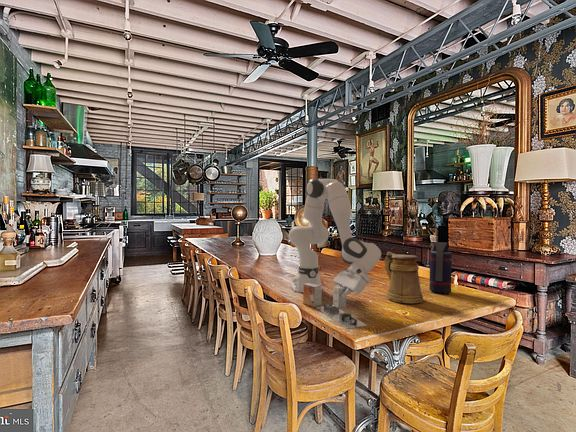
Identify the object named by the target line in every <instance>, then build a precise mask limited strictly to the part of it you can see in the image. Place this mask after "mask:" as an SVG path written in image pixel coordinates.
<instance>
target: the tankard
mask: <svg viewBox="0 0 576 432" xmlns="http://www.w3.org/2000/svg"><path fill="white" fill-rule="evenodd" d="M417 259H418V257H417V255H413V254H411V255H410V254H409V255H408V254H398V253H393V252H391V251H387V253H386V255H385V258H384V269H385V271H386V274H387V276H388V278H389V287H388V289H387V291H386V292H387V294H386V295H387V296H386V298H387V299H388V300H389V301H392V302H394V303H399V304H400V303H401V304H421V303H422V302H424V296H423V293H422V290H421V289H422V288H421V283H420V277H419V269H420V267H419V263H418V262H417Z"/></svg>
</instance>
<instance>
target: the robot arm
mask: <svg viewBox="0 0 576 432" xmlns="http://www.w3.org/2000/svg"><path fill="white" fill-rule="evenodd" d="M305 190H306V191H305V192H306V194H307V195H306V199H305V202H304V203H305V204H304V209H303V218H304V219H305V220H306V221H307V222H309V224H308V225H306V226H305V225H301V226H294V227H292V228H290V230H289V232H288V239H289V241H290V243H291V244H292V245H294V246H295V247H296V249H297V252H298V254H299V255H298V257H299V266H298V270H297V273H296V275H295V276H294V277H293V278H292V283H290V285H289V286H290V288H291V289H292V290H293V292H296V293H297V292H299V293H304V284H306V283H314V284H318V285H322V282H321V276H320V274H319V271H320V269H319V259H318V258H319V256H318V253H317V252H316V251H315V250H313V249H312V248H311V245H319V244H323V243H325V242H327V241H328V239H329V236H330V235H329V230H328V228H327V227H325V225H324V224H323V215H324V214H323V213H324V208H325V203H326V202H325V201H326V200H327V204H328V207H329V210H330V212H331V216H332V217H333V220H334V223H335V225H336V227H337V232H338V235H339V239H340V243H341V251H340V257H341V260H342V261H343V262H344V263H345V264H348V265H349V267H348V268H347V269H345V270H341V271H339V273H337V275H336V276H335V277H334V278H333V283H334V284H335V286H340V285H341V286H343V287H345V288H346V291H345V292H344V293H343V292H342V293H341V295H340V296H341V297H342V298H345V297H346V298H347V296H348V295H350V294H351V293H354V294H355V295H360V294H361V293H362V292H363V291H364V290H365V288H366V287H367V285H368V284H369V283H371V282H372V279H371V278H370V277H369V276H368V275H369V274H370V271H371V270H372V269H373V268H374V267H376V265H377V264H378V262H379V261H380V260H381V257H382V250H381V249H380V248H379V246H378V245H376V244H375V243H373V242H366V241H362V240H360V239H358V238H357V237H353V235H352V230H351V218H352V217H351V215H352V204H351V201H350V197H349V194H348V191H347V189H346V187H345V184H344V182H343V181H342V180H339V179H332V178H311V179H309V180H308V182H307V183H306V188H305ZM322 290H323V286H322Z"/></svg>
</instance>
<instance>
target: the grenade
mask: <svg viewBox="0 0 576 432" xmlns="http://www.w3.org/2000/svg"><path fill="white" fill-rule="evenodd" d="M452 267H453V253H452V252H451V251H450V250H449V242H440V241H436V242H433V245H432V246H431V249H430V252H429V288H428V290H430V292H431V293H432V294H435V293H441V294H444V295H448V294H449V293H452V277H453V276H452V274H453V273H452V272H453V271H452V269H453V268H452Z"/></svg>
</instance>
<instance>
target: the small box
mask: <svg viewBox="0 0 576 432" xmlns="http://www.w3.org/2000/svg"><path fill="white" fill-rule="evenodd" d="M322 287H323V285H322V284H321V285H318V284H314V283H306V284H304V292H302V293H303V297H302V298H303V300H302V301H303V302H302V304H304V305H307V306H309V307H313V308H316V307H321V306H322V296H323V295H322V291H323V289H322Z"/></svg>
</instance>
